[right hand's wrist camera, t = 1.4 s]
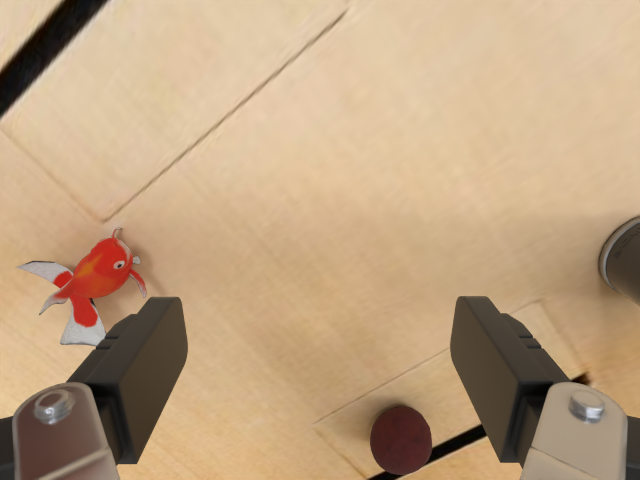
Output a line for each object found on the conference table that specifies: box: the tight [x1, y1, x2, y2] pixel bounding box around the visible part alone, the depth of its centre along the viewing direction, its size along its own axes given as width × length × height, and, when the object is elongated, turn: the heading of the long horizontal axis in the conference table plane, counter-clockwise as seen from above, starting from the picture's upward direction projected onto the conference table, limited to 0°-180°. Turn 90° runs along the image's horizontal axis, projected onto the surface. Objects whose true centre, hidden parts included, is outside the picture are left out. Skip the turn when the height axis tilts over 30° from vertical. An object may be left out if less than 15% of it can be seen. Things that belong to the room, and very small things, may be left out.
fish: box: [16, 228, 146, 346], centre depth 40 cm, size 11×16×10 cm
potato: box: [370, 407, 432, 475], centre depth 48 cm, size 7×8×7 cm
